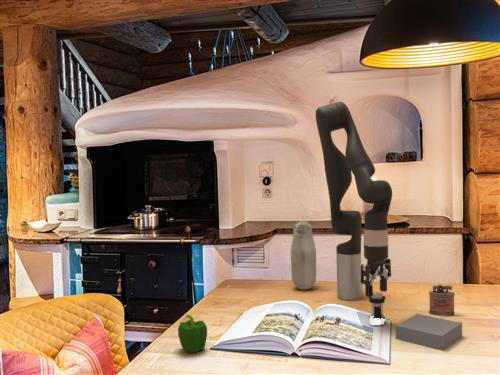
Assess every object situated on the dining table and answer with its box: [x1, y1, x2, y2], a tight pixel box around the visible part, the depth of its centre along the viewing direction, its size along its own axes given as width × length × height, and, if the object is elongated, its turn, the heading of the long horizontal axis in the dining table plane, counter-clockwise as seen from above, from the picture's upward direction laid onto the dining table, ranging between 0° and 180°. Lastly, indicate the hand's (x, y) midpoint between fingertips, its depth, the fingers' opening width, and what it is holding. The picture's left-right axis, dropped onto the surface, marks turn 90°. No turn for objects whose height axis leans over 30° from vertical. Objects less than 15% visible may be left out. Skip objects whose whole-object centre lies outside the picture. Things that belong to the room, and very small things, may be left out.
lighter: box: [428, 283, 456, 317], centre depth 170 cm, size 8×3×10 cm, turn 70°
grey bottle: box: [290, 220, 317, 291], centre depth 206 cm, size 10×10×28 cm
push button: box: [367, 291, 389, 326], centre depth 162 cm, size 7×5×10 cm
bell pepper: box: [177, 313, 208, 354], centre depth 146 cm, size 8×8×10 cm
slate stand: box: [395, 313, 463, 351], centre depth 150 cm, size 14×14×4 cm
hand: (376, 293), depth 161 cm, fingers open, 8 cm apart
